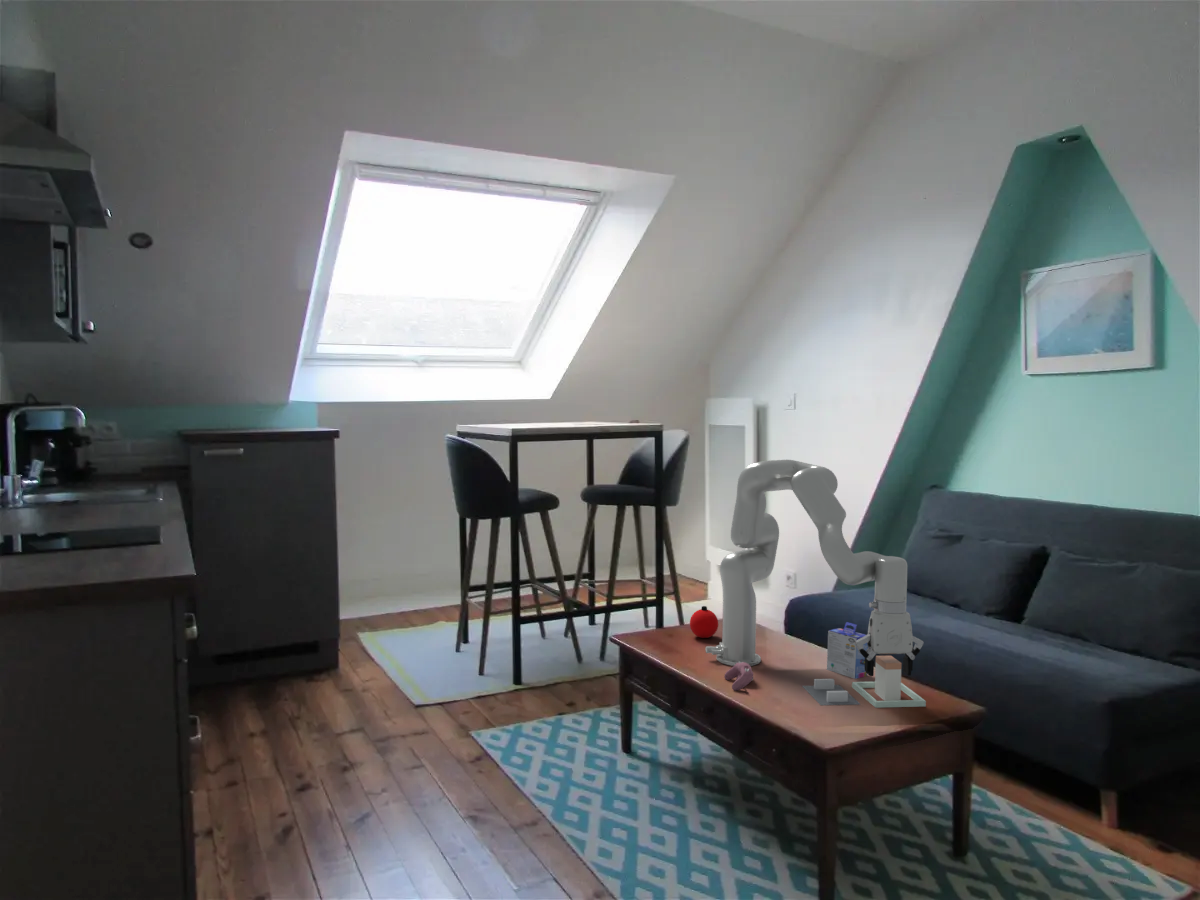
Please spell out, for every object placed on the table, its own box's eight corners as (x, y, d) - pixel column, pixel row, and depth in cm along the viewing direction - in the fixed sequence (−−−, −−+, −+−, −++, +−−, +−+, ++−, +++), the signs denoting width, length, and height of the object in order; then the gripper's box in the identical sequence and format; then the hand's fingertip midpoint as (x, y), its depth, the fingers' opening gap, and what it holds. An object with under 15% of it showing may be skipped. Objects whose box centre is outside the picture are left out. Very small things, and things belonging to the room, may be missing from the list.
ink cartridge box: (868, 679, 227) (870, 626, 226) (855, 683, 224) (856, 629, 223) (838, 670, 235) (840, 618, 234) (825, 673, 232) (827, 621, 231)
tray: (875, 712, 203) (875, 702, 203) (851, 691, 217) (852, 682, 217) (925, 711, 204) (925, 700, 204) (898, 690, 218) (899, 680, 218)
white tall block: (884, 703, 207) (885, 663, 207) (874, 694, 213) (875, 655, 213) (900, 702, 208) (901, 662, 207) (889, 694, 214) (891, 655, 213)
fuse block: (820, 710, 204) (821, 695, 204) (801, 690, 218) (802, 676, 218) (860, 709, 205) (861, 694, 205) (839, 689, 219) (839, 675, 219)
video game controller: (746, 697, 217) (759, 673, 217) (731, 689, 217) (743, 665, 217) (737, 684, 227) (748, 661, 227) (722, 677, 226) (734, 654, 226)
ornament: (724, 637, 266) (724, 606, 265) (705, 643, 260) (706, 611, 259) (702, 632, 273) (702, 601, 272) (683, 637, 266) (684, 606, 266)
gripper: (862, 610, 205) (860, 679, 206) (930, 609, 206) (928, 678, 207) (850, 603, 212) (848, 670, 213) (916, 602, 214) (914, 668, 215)
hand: (888, 674), depth 210 cm, fingers open, 9 cm apart
